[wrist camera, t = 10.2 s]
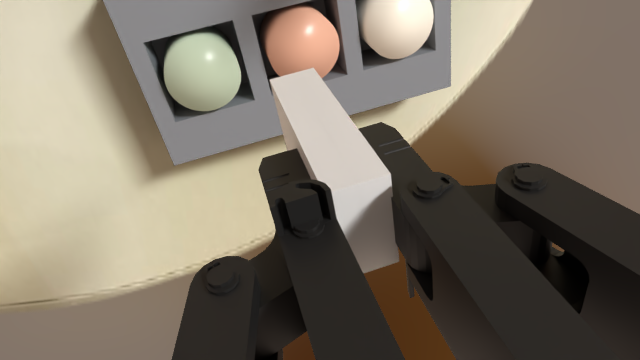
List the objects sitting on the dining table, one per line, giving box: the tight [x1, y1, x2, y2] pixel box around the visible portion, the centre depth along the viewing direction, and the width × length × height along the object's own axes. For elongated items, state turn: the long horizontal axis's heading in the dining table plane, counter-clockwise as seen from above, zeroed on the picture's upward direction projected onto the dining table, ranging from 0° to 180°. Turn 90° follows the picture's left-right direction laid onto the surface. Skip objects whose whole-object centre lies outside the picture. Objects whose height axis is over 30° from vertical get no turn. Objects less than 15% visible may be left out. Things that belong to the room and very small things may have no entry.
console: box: [103, 0, 451, 166], centre depth 41 cm, size 15×27×5 cm, turn 100°
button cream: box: [355, 0, 434, 59], centre depth 41 cm, size 6×6×4 cm
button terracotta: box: [260, 2, 340, 78], centre depth 40 cm, size 6×6×4 cm
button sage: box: [164, 26, 241, 111], centre depth 39 cm, size 6×6×4 cm
